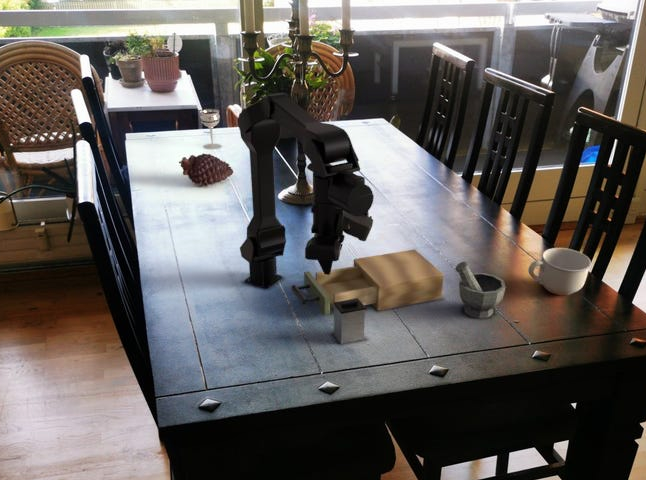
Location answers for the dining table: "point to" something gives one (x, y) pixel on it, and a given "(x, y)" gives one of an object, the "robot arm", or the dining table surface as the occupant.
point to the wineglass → (210, 122)
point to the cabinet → (402, 278)
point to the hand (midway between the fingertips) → (327, 273)
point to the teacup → (561, 270)
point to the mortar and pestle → (479, 291)
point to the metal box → (349, 320)
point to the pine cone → (205, 169)
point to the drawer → (337, 288)
